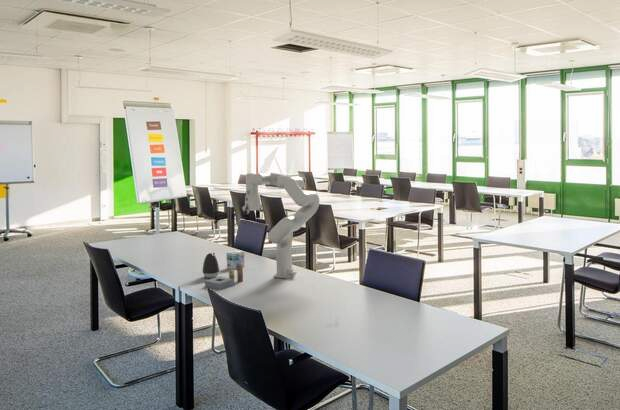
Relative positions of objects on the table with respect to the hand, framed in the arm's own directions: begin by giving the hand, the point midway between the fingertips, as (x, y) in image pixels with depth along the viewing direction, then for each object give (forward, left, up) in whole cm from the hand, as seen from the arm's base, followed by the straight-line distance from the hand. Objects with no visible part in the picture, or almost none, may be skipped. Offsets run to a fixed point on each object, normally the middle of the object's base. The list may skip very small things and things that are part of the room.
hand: (252, 219), depth 315 cm
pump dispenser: (+14, +24, -35) cm, 45 cm away
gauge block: (-5, +35, -35) cm, 50 cm away
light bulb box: (+19, -3, -35) cm, 40 cm away
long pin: (-8, +21, -35) cm, 41 cm away
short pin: (+1, +19, -35) cm, 40 cm away
